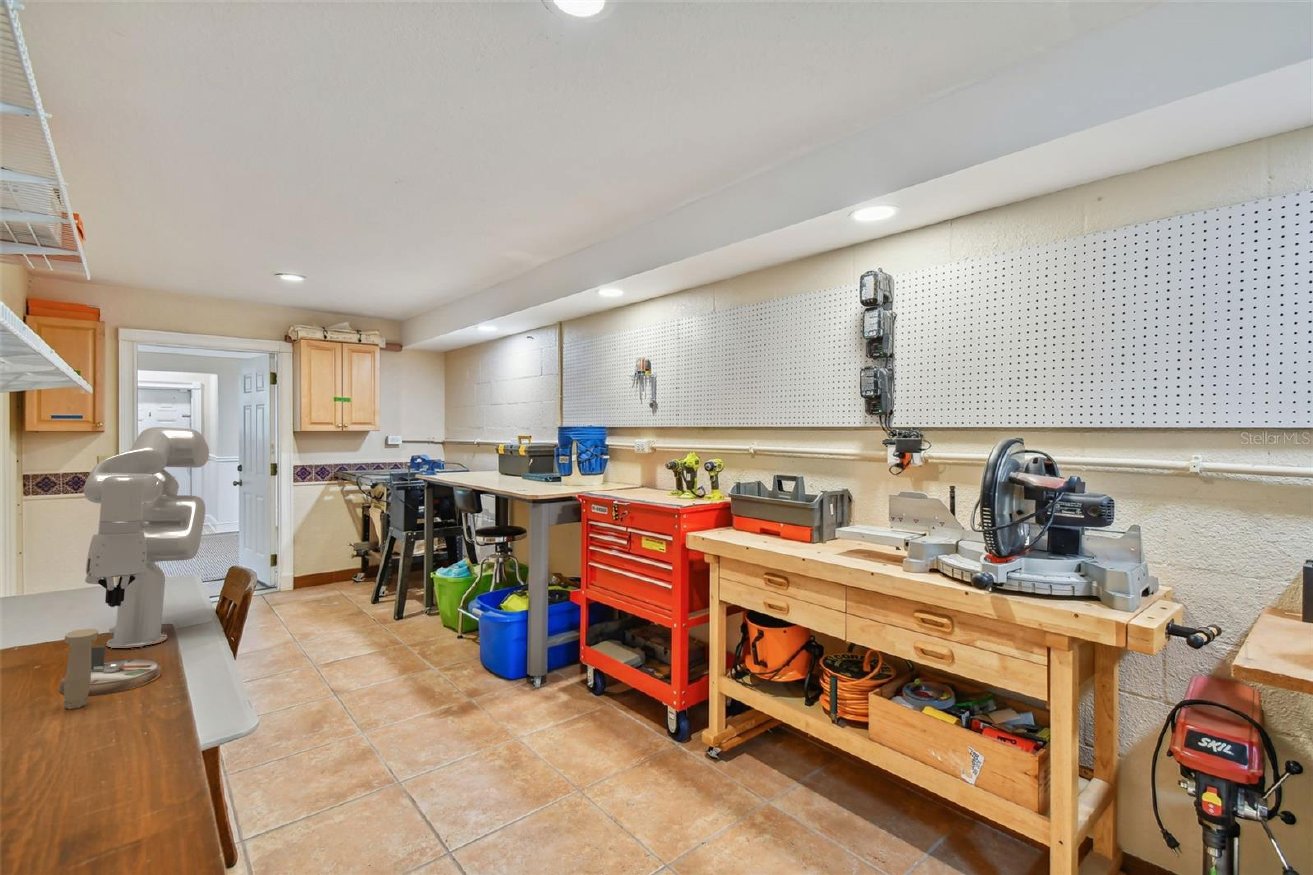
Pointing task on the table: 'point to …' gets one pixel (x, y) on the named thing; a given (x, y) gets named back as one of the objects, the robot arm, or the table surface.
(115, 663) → the dial pointer
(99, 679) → the base
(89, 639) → the handle
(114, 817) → the table surface
